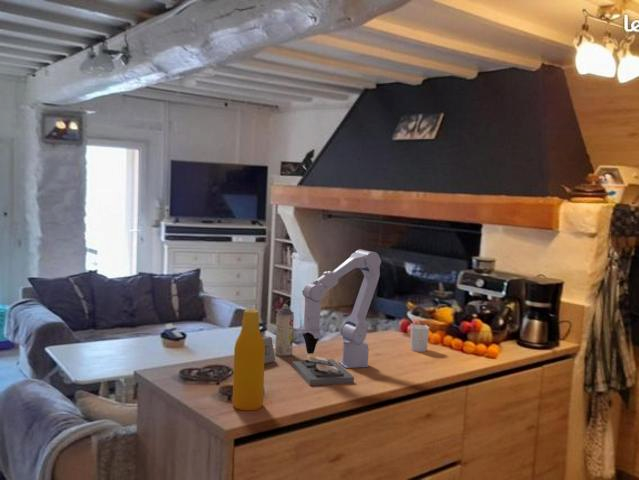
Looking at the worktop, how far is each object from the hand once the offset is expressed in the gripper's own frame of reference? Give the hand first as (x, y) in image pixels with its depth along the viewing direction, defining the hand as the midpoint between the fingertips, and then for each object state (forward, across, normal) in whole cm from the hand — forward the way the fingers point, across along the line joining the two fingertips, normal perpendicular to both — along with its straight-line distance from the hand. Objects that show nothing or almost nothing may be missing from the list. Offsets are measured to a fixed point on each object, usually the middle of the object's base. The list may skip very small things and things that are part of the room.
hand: (310, 353), depth 217 cm
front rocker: (+4, +11, +3) cm, 12 cm away
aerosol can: (+7, -22, -4) cm, 23 cm away
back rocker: (+4, 0, +3) cm, 4 cm away
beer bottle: (+7, +30, -29) cm, 43 cm away
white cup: (+6, -20, +55) cm, 59 cm away
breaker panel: (+6, +6, +3) cm, 9 cm away
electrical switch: (+7, -12, -15) cm, 21 cm away
